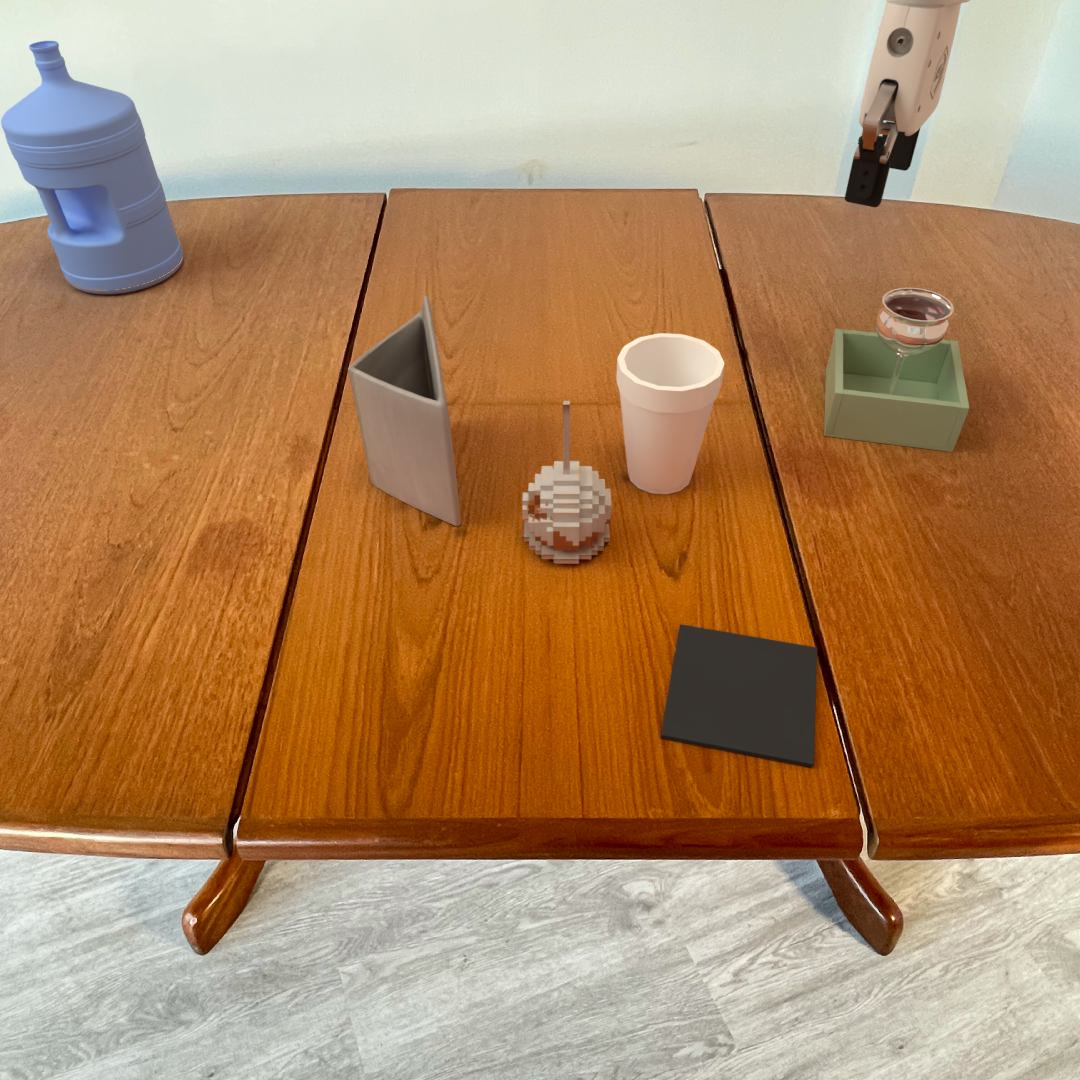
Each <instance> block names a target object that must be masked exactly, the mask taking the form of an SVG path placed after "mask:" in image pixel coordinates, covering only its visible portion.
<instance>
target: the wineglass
mask: <svg viewBox="0 0 1080 1080" xmlns="http://www.w3.org/2000/svg"><path fill="white" fill-rule="evenodd" d="M952 303H953V302H951V300H950V299H948V298H946V297H945V296H944V295H942V294H940V293H938V292H935V291H933V290H929V289H925V288H919V287H899V288H895V289H891V290H889V291H887V292H886V293H884V295H883V296H882V307H881V308H880V310H879V311H878V313H877V315H876V320H875V330H876V333H877V335H878V336H879V338H880V340H881V341H882V342H883V343H884V345H885V346H886V347H887V348H888V349H890V350H891V351H893V352H895V353H896V355H898V356H897V360H896V364H895V368H894V372H893V376H892V380H891V384H890V388H889V392H888V393H883V392H881V393H880V394H888V395H894V394H892V393H893V391H894V388H895V385H896V382H897V380H898V377H899V374H900V371H901V369H902V366H903V363H904V360H905V357H908V356H909V355H918V354H922V353H924V352H926V351H929V350H931V349H933V348H934V347H936V346H937V345H938V344H939V343H940V342H941V341H942V340H944V338H945V336H946V335H947V332H948V331H949V318H950V317H951V316H952V314H953V313H954V311H955V309H954V305H953V304H952Z"/></svg>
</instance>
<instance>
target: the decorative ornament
mask: <svg viewBox="0 0 1080 1080" xmlns="http://www.w3.org/2000/svg"><path fill="white" fill-rule="evenodd" d="M580 464H581V463H580V460H571V400H562V460H554V462H553V465H541V469H540V473H535V474H534V482H528V486H527V487H528V489H527V492H526V491H525V492H524V491H523V492H522V499H521V501H522V502H521V503H522V507H521V508H522V509H521V512H522V513H521V514H522V520H524V526H523V542H528V548H529V551H534V554H535V555H540V556H541V558H540V559H541V560H553V564H567V565H568V564H570V565H571V564H572V565H573V564H577V565H579V564H580V560H592V556H598V553H599V552H598V551H600V552H601V551H604V549H605V543H610V540H611V539H610V538H611V536H610V535H611V534H610V524H611V521H612V519H611V518H612V493H611V490H612V489H611V488H606V479H605V478H599V476H600V475H599V470H593V466H592V465H580Z"/></svg>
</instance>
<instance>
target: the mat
mask: <svg viewBox="0 0 1080 1080" xmlns="http://www.w3.org/2000/svg"><path fill="white" fill-rule="evenodd" d="M675 645H676V646H675V652H674V657H673V661H672V663H673V664H672V668H671V674H670V680H669V685H668V686H669V687H668V692H667V697H666V703H665V709H664V715H663V720H662V726H661V731H660V739H663V740H668V741H673V742H678V743H683V744H688V745H693V746H699V747H704V748H709V749H714V750H719V751H724V752H730V753H734V754H740V755H744V756H745V755H746V756H750V757H755V758H760V759H765V760H771V761H777V762H780V763H781V762H782V763H786V764H791V765H796V766H802V767H807V768H814V766H815V748H816V747H815V746H816V744H815V743H816V709H817V674H818V673H817V671H818V670H817V669H818V647H816V646H812V645H805V644H801V643H800V644H799V643H793V642H787V641H783V640H775V639H771V638H765V637H764V638H763V637H758V636H753V635H752V636H751V635H746V634H739V633H734V632H728V631H724V630H723V631H722V630H717V629H712V628H711V629H710V628H705V627H699V626H693V625H688V624H679V629H678V634H677V640H676V644H675Z"/></svg>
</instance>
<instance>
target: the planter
mask: <svg viewBox="0 0 1080 1080" xmlns="http://www.w3.org/2000/svg"><path fill="white" fill-rule="evenodd" d="M347 373H348V378H349V382H350V386H351V387H350V388H351V391H352V392H351V393H352V396H353V402H354V406H355V410H356V415H357V421H358V425H359V426H358V427H359V430H360V435H361V440H362V445H363V450H364V454H365V460H366V465H367V470H368V475H369V480H370V484H371V485H372V486H373V487H375V488H377V489H379V490H380V491H382V492H383V493H385V494H387V495H389V496H391V497H393V498H395V499H396V500H399V501H400V502H403V503H405V504H407V505H409V506H410V507H413V508H415V509H417V510H420V511H421V512H424V513H426V514H427V515H429V516H432V517H434V518H436V519H438V520H441V521H443V522H445V523H448V524H450V525H452V526H454V527H459V526H461V524H462V514H461V505H460V497H459V488H458V480H457V471H456V461H455V454H454V445H453V444H454V443H453V437H452V435H453V434H452V429H451V428H452V427H451V420H450V413H449V405H448V399H447V394H446V389H445V382H444V376H443V371H442V365H441V359H440V352H439V347H438V341H437V335H436V328H435V322H434V318H433V311H432V306H431V301H430V298H429V296H428V295H423V299H422V306H421V309H420V310H419V312H417V314H415V315H414V316H413V317H412V318H411V319H409V320H408V321H407V322H405V323H404V324H403V325H401V326H399V327H398V328H397V329H395V330H394V331H393V332H391V333H389V334H388V335H387V336H386V337H384V338H383V339H381V340H380V341H379V342H377V343H375V345H373V346H372V347H370V348H368V349H367V350H366V351H365V352H364V353H363V354H361V355H360V356H359V357H358V358H357V359H355V361H353V362H352V363H351V364H350V365H349V366H348V368H347Z"/></svg>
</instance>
